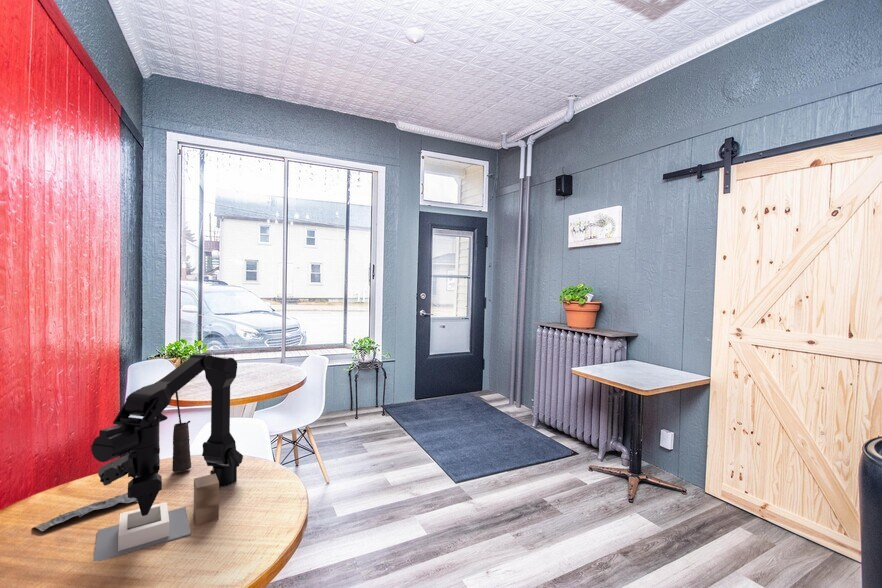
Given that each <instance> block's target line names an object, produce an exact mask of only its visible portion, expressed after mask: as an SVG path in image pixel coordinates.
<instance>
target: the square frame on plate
mask: <svg viewBox="0 0 882 588" xmlns="http://www.w3.org/2000/svg"><path fill="white" fill-rule="evenodd" d="M168 508H169V507H168V501H164V502H160V503H156V504H153V505H152V507H151V509H150V511H149V513H148V515H145V516H142V514H141V511H140V508H135V509H132V510H129V511H128V510H127V511H125V512H120V514H119V523H118V524H115V525H111V526H108V527H105V528H104V527H103V528H100V529H98V530H97V533H96V539H95V546H94V551H93V558H92V561H93V562H101V561H104V560H108V559H112V558H115V557H118V556H122V555H126V554H128V553H129V554H130V553H133V552H136V551H140V550H144V549H147V548H151V547H155V546H157V545H161V544H165V543H168V542H169V543H170V542H171V541H175V540H179V539H182V538H186V537H189V536H191V535H192V533H191V529H190V528H191V527H190V523H189V517H188V513H187V507H186V506H183V507H179V508H175V509H170V510H169V509H168Z"/></svg>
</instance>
